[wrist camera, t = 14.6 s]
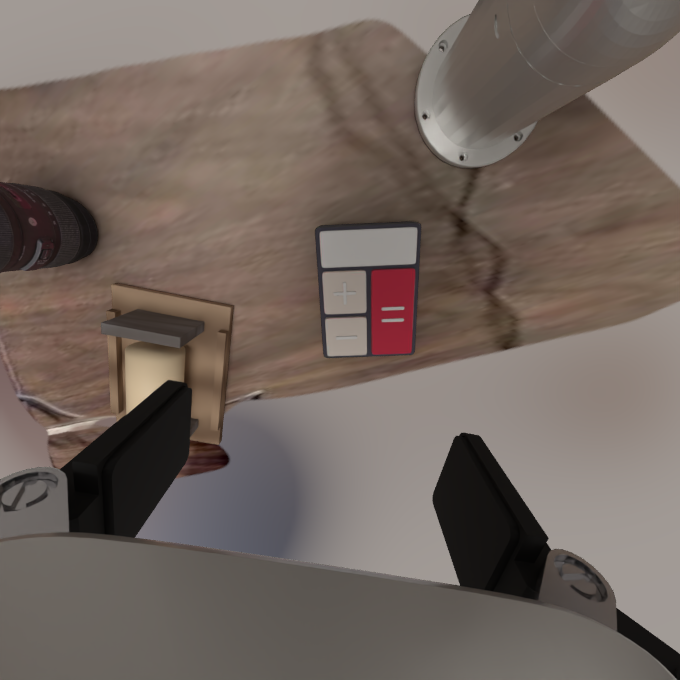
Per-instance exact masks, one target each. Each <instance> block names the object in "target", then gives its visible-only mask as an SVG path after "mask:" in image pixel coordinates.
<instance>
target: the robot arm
mask: <svg viewBox="0 0 680 680" xmlns="http://www.w3.org/2000/svg"><path fill="white" fill-rule="evenodd" d="M679 32H680V0H479V1H478V3H477V4H476V6H475V8H474V9H473V11H472V13H471V14H469V15H467V16H464V17H462V18H461V19H459V20H458V21H456V22H455V23H453V24H452V25H451V26H449V28H447V29H446V31H444V32H443V33H442V34H441V35H440V36H439V38H438V39H437V40H436V42H435V43H434V45H433V46H432V48H431V49H430V51H429V53H428V55H427V57H426V58H425V60H424V63H423V65H422V68H421V70H420V73H419V76H418V80H417V84H416V89H415V102H414V105H415V116H416V121H417V125H418V128H419V131H420V134H421V136H422V138H423V140H424V142H425V143H426V145H427V146H428V147H429V149H430V150H431V151H432V152H433V153H434V154H435V155H436V156H437V157H438V158H439V159H441V160H442V161H444V162H446V163H448V164H450V165H453V166H456V167H460V168H479V167H484V166H487V165H490V164H493V163H495V162H497V161H499V160H501V159H503V158H505V157H507V156H508V155H509V154H511V153H512V152H514V151H515V150H516V149H517V148H518V147H519V146H520V145H521V144H522V143H523V142H524V141H525V140H526V139H527V137H528V136H529V135H530V133H531V132H532V131H533V129H534V128H535V126H536V124H537V122H538V120H540V119H542V118H543V117H545V116H547V115H549V114H550V113H552V112H554V111H556V110H557V109H559V108H561V107H563V106H565V105H566V104H568V103H570V102H572V101H573V100H575V99H577V98H579V97H580V96H582V95H584V94H586V93H587V92H589V91H591V90H593V89H594V88H596V87H598V86H600V85H601V84H603V83H605V82H606V81H608V80H610V79H612V78H613V77H615V76H617V75H619V74H620V73H622V72H623V71H625V70H627V69H629V68H630V67H632V66H634V65H635V64H637V63H639V62H640V61H642V60H644V59H645V58H647V57H648V56H650V55H651V54H652V53H654V52H655V51H657V50H658V49H660V48H661V47H662V46H663V45H665V44H666V43H667V42H668V41H669V40H670V39H672V38H673V37H674V36H675V35H676V34H677V33H679ZM439 48H441V49H443V52H441V51H440V50H439ZM423 115H425V116H426V120H424V119H423V118H422V116H423ZM514 137H516V141H515V140H514ZM460 156H462V157H463V160H462V161H460V159H459V157H460ZM191 406H192V389H191V388H188V386H187V383H184V382H179V381H173V380H167V381H166V382H165V383H163V384H162V385H161V386H160V387H159V388H158V389H156V390H155V391H154V392H153V393H152V394H150V395H149V396H148V397H147V398H146V399H145V400H143V401H142V402H141V403H140V404H139V405H137V406H136V407H135V408H134V409H133V410H131V411H130V412H129V413H128V414H126V415H125V416H123V417H122V418H121V419H120V420H118V421H117V422H116V423H115V424H114V425H112V426H111V427H110V428H109V429H108V430H106V431H105V432H104V433H103V434H102V435H101V436H99V437H98V438H97V439H96V440H95V441H93V442H92V443H91V444H90V445H89V446H87V447H86V448H85V449H84V450H83V451H81V452H80V453H79V454H78V455H77V456H76V457H74V458H73V459H72V460H71V461H70V462H68V463H67V464H66V465H65V466H64V467H62V468H61V469H60V470H59V469H56V468H52V467H37V468H31V469H26V470H23V471H19V472H16V473H13V474H11V475H9V476H7V477H4V478H2V479H0V680H680V654H679V653H678V652H676V651H675V650H674V649H672V648H671V647H670V646H668V645H666V644H665V643H664V642H663V641H661V640H660V639H658V638H657V637H656V636H654V635H653V634H652V633H650V632H649V631H647V630H646V629H645V628H643V627H642V626H641V625H639V624H638V623H636V622H635V621H634V620H632V619H631V618H630V617H628V616H627V615H625V614H624V613H623V612H621V611H620V610H619V609H617V608H616V599H615V595H614V592H613V590H612V588H611V587H610V585H609V583H608V582H607V581H606V580H605V578H604V577H603V576H602V575H601V574H600V573H599V572H598V571H597V570H596V569H595V568H594V567H593V566H592V565H591V564H589V563H588V562H586V561H585V560H584V559H582V558H581V557H579V556H577V555H575V554H573V553H572V552H569V551H566V550H563V549H554V550H551V549H550V548H549V546H548V544H547V543H546V542H547V540H548V537H547V535H546V534H545V532H544V531H543V529H542V528H541V526H540V525H539V523H538V522H537V520H536V519H535V517H534V516H533V514H532V513H531V511H530V510H529V508H528V507H527V506H526V504H525V502H524V501H523V499H522V498H521V496H520V495H519V493H518V492H517V490H516V489H515V488H514V486H513V485H512V483H511V482H510V480H509V479H508V477H507V476H506V474H505V473H504V471H503V470H502V468H501V467H500V465H499V464H498V462H497V461H496V459H495V458H494V456H493V455H492V453H491V452H490V450H489V449H488V447H487V446H486V444H485V443H484V441H483V440H482V438H481V437H480V436H478V435H474V434H468V433H461V434H460V435H459V436H456V437H455V438H454V440H453V443H452V446H451V448H450V451H449V453H448V456H447V459H446V461H445V464H444V467H443V470H442V472H441V474H440V477H439V480H438V482H437V485H436V487H435V490H434V493H433V505H434V508H435V511H436V514H437V517H438V520H439V523H440V526H441V529H442V532H443V535H444V538H445V541H446V544H447V547H448V550H449V553H450V556H451V559H452V562H453V565H454V568H455V571H456V574H457V577H458V580H459V583H460V586H458V585H452V584H445V583H439V582H432V581H426V580H420V579H413V578H407V577H401V576H394V575H388V574H382V573H376V572H369V571H362V570H355V569H349V568H343V567H336V566H329V565H323V564H316V563H310V562H303V561H295V560H289V559H282V558H276V557H269V556H263V555H255V554H249V553H242V552H235V551H227V550H221V549H214V548H207V547H200V546H193V545H186V544H179V543H172V542H164V541H156V540H148V539H140V538H135V536H136V535H137V534H138V532H139V531H140V529H141V527H142V526H143V525H144V523H145V522H146V520H147V519H148V517H149V516H150V514H151V513H152V511H153V510H154V509H155V507H156V506H157V504H158V503H159V501H160V500H161V498H162V497H163V495H164V494H165V492H166V491H167V489H168V488H169V487H170V485H171V484H172V482H173V481H174V479H175V478H176V476H177V475H178V473H179V472H180V470H181V469H182V467H183V466H184V464H185V463H186V461H187V458H188V455H189V445H190V425H191Z"/></svg>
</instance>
